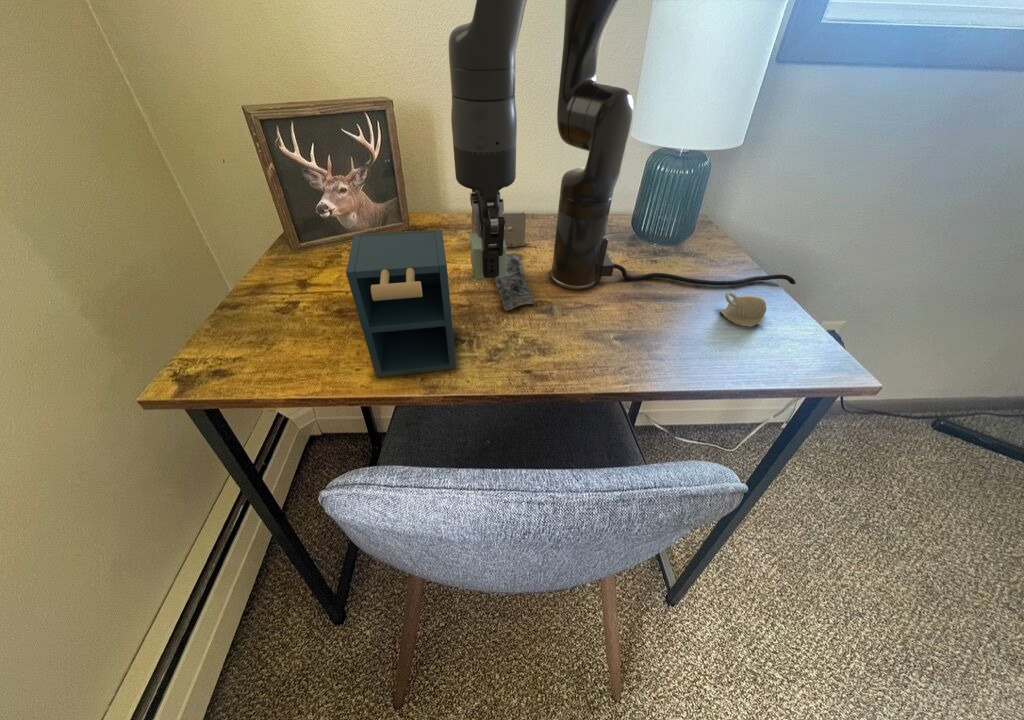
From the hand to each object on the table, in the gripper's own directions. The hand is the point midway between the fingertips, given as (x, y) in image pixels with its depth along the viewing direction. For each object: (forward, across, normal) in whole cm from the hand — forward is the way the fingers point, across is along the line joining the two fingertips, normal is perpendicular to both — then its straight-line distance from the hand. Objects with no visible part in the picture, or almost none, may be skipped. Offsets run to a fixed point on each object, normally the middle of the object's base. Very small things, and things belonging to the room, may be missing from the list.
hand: (488, 266), depth 59 cm
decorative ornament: (+14, -2, -46) cm, 48 cm away
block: (0, 0, 0) cm, 0 cm away
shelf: (+4, +3, +12) cm, 13 cm away
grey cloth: (+14, +17, -7) cm, 23 cm away
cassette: (+14, +32, -7) cm, 35 cm away
